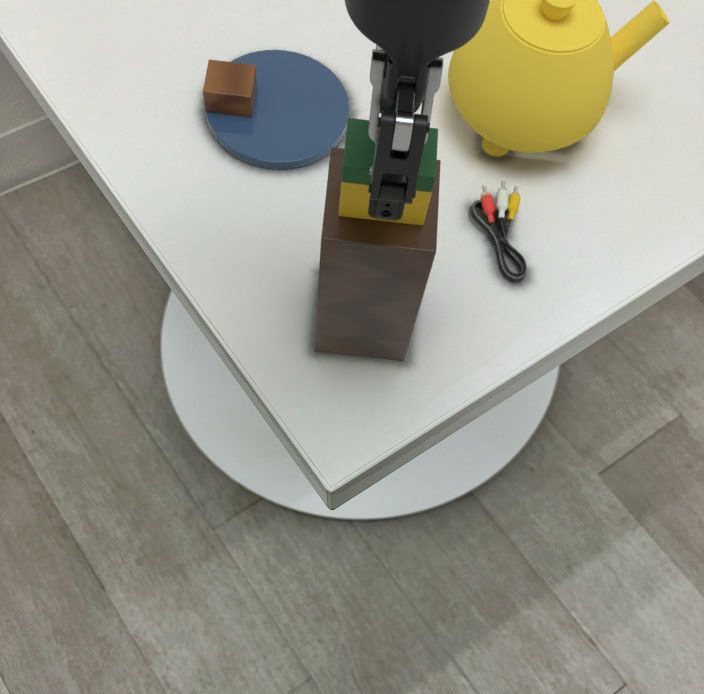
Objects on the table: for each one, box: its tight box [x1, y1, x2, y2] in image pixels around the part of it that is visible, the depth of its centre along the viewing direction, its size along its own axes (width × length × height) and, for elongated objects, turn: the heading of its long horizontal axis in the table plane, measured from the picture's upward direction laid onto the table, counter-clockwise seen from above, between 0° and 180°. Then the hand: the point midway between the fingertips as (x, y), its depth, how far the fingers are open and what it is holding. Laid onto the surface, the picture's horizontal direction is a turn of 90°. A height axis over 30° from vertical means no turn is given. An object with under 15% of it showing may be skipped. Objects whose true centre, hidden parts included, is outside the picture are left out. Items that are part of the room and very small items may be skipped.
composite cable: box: [468, 180, 528, 283], centre depth 74 cm, size 10×5×2 cm, turn 4°
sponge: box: [338, 117, 439, 225], centre depth 54 cm, size 6×4×5 cm, turn 86°
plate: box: [204, 49, 350, 170], centre depth 78 cm, size 14×14×1 cm
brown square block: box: [202, 58, 257, 117], centre depth 76 cm, size 4×4×2 cm
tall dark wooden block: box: [313, 147, 442, 361], centre depth 64 cm, size 8×8×16 cm
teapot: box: [447, 0, 670, 157], centre depth 74 cm, size 20×16×14 cm
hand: (388, 162), depth 53 cm, fingers open, 8 cm apart
